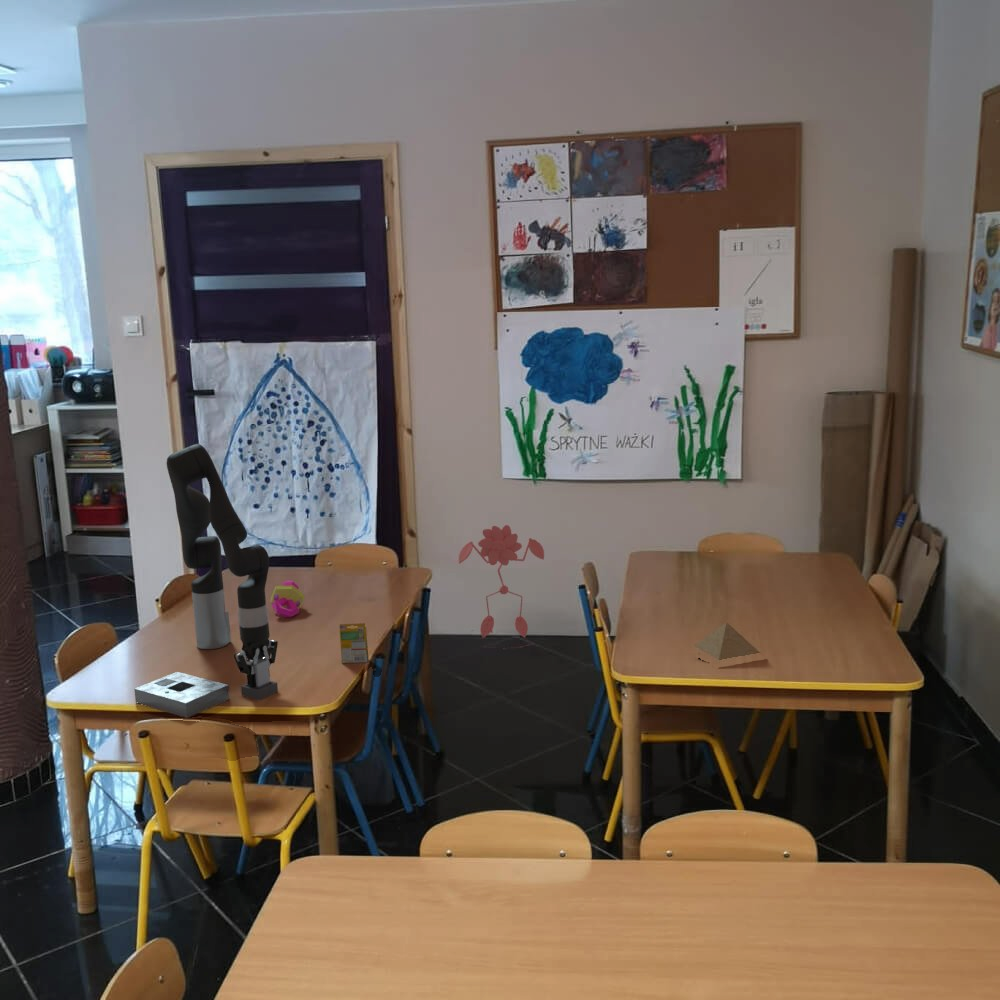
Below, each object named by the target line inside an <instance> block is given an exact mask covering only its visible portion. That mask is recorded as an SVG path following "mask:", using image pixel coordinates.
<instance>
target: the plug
mask: <svg viewBox="0 0 1000 1000" xmlns="http://www.w3.org/2000/svg"><path fill="white" fill-rule="evenodd" d="M250 661H252V662H253V660H250ZM250 669H251V665H250ZM269 672H270V667H269V665H268V660H263V659H258V661H257V664H256V665H255V673H254V674H255V676H256V687H254V688H255V689H261V688H263V687H265V686H268V685H270V681H271V676H269ZM248 687H250V686H249V685H248ZM251 688H253V687H251Z"/></svg>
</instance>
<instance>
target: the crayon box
mask: <svg viewBox="0 0 1000 1000" xmlns="http://www.w3.org/2000/svg"><path fill="white" fill-rule="evenodd" d="M365 624H366V623H365V622H362V623H361V622H360V623H359V622H358V623H344V624H339V638H340V652H341V663H342V664H343V665H344V664H354V663H355V664H357V663H368V662H369V650H368V637H367V635H368V634H367V626H366V625H365ZM351 626H352V627H351Z"/></svg>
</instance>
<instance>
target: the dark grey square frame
mask: <svg viewBox="0 0 1000 1000" xmlns="http://www.w3.org/2000/svg"><path fill="white" fill-rule="evenodd" d="M240 690H241V696H243V695H244V696H243V697H247V696H248V697H247V698H251V699H255V700H258V701H260V700H263V699H265V698H267V697H268V696H271V695H273V693H274V694H276V693H278V691H279V689H278V682H276V681H273V680H270V685H268V686H265V687H263V688H261V689H255V688H251V687H248V683H245V684H243V685H241V687H240ZM275 692H276V693H275Z"/></svg>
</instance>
